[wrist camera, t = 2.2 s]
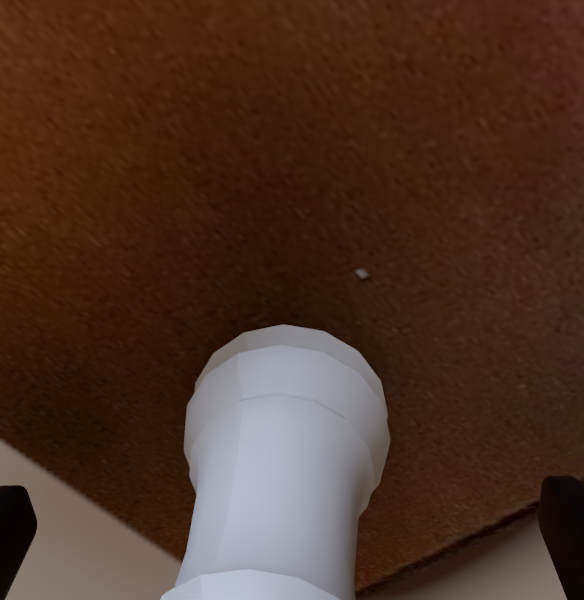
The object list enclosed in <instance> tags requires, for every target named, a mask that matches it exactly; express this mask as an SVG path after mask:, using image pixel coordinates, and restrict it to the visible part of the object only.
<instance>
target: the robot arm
mask: <svg viewBox="0 0 584 600" xmlns="http://www.w3.org/2000/svg"><path fill="white" fill-rule="evenodd" d="M538 522H539V527H540V531H541V533H542V536H543V538H544V541H545V544H546V546H547V549H548V551H549V554H550V556H551V559H552V561H553V564H554V567H555V569H556V572H557V574H558V577H559V579H560V582H561V584H562V587H563V589H564V592H565V595H566V597H567V600H584V483H583V482H581V481H580V480H578V479H576V478H574V477H572V476H548V477H546V478H545V479H544V480H543V483H542V488H541V496H540V504H539V512H538ZM36 530H37V519H36V516H35V513H34V510H33V507H32V504H31V501H30V498H29V495H28V492H27V490H26V489H25V488H24V487H22V486H19V485H15V486H0V600H5V598H6V596H7V594H8V592H9V589H10V587H11V585H12V583H13V581H14V579H15V577H16V575H17V572H18V570H19V568H20V566H21V564H22V562H23V560H24V558H25V555H26V553H27V551H28V549H29V547H30V545H31V542H32V541H33V538H34V536H35V533H36Z"/></svg>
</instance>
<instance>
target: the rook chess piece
mask: <svg viewBox="0 0 584 600" xmlns="http://www.w3.org/2000/svg"><path fill="white" fill-rule="evenodd" d="M387 418H388V412H387V407H386V402H385V398H384V393H383V388H382V383H381V380H380V379H379V378H378V376H377V375H376V374H375V372H374V371H373V370H372V368H371V367H370V366H369V364H368V363H367V362H366V360H365V359H364V358H363V356H362V355H361V354H360V352H359V351H357V350H356V349H354V348H352V347H350V346H349V345H347V344H345V343H344V342H342V341H340V340H338V339H337V338H335V337H333V336H332V335H330V334H328V333H327V332H325V331H321V330H315V329H309V328H303V327H296V326H290V325H284V324H283V325H278V326H273V327H268V328H263V329H258V330H254V331H249V332H244V333H242V334H241V335H240V336H238V337H237V338H235V339H234V340H232V341H231V342H229V343H228V344H226V345H225V346H223V347H222V348H220V349H219V350H217V351H216V352H215V353H213V354H212V356H211V358H210V359H209V361H208V363H207V364H206V366H205V368H204V369H203V371H202V373H201V374H200V376H199V378H198V379H197V381H196V383H195V393H194V395H193V396H192V398H191V400H190V401H189V403H188V405H187V411H186V424H185V436H184V453H185V456H186V458H187V461H188V464H189V466H190V473H189V477H190V479H191V482H192V485H193V487H194V490H195V492H196V501H195V506H194V512H193V517H192V522H191V528H190V533H189V539H188V544H187V550H186V554H185V556H184V559H183V562H182V565H181V568H180V571H179V574H178V577H177V580H176V583H175V586H174V588H173V589H171V590H169V591H168V592H166V593H164V594H163V596H162V597H161V599H160V600H355V588H354V573H355V560H356V546H357V533H358V519H359V516H360V515H361V514H362V512H363V511H364V510H365V509H366V508H367V507H368V503H369V500H370V496H371V493H372V492H373V491H374V490H375V489H376V488H377V486H378V485H379V483H380V480H381V476H382V472H383V469H384V465H385V461H386V457H387V454H388V450H389V445H390V440H391V439H390V434H389V429H388V425H387Z"/></svg>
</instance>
